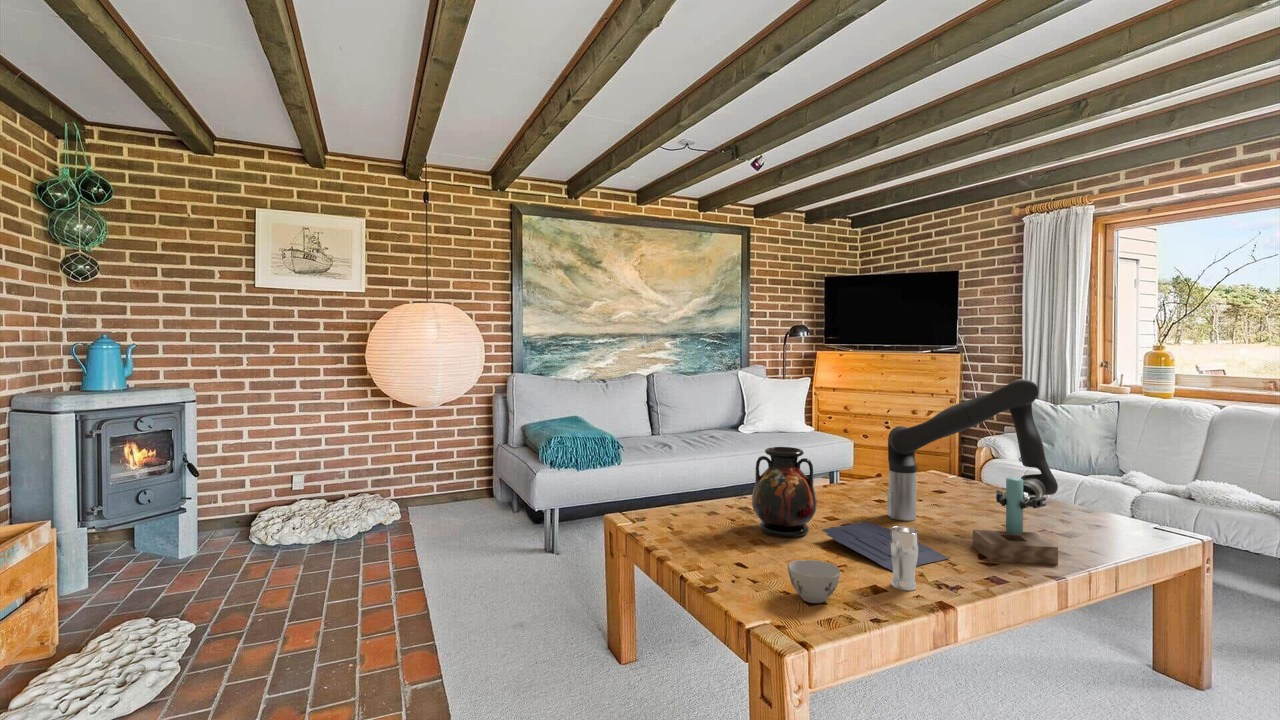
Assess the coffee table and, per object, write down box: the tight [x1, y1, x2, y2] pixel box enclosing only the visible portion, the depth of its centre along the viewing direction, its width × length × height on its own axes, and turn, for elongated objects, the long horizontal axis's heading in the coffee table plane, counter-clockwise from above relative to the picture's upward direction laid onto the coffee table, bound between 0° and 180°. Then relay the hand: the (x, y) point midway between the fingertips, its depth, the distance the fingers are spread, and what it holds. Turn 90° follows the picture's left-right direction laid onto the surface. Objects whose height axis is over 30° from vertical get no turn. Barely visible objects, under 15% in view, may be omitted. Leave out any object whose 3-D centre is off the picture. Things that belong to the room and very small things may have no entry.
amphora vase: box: [751, 446, 818, 539], centre depth 206 cm, size 22×22×28 cm
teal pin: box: [1005, 477, 1024, 534], centre depth 183 cm, size 4×4×16 cm
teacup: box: [787, 559, 841, 604], centre depth 153 cm, size 15×12×8 cm
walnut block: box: [972, 529, 1059, 565], centre depth 183 cm, size 18×14×5 cm
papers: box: [821, 520, 950, 572], centre depth 187 cm, size 24×30×4 cm
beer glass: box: [890, 525, 920, 592], centre depth 159 cm, size 7×7×15 cm
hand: (1012, 504), depth 181 cm, fingers closed on teal pin, 4 cm apart
